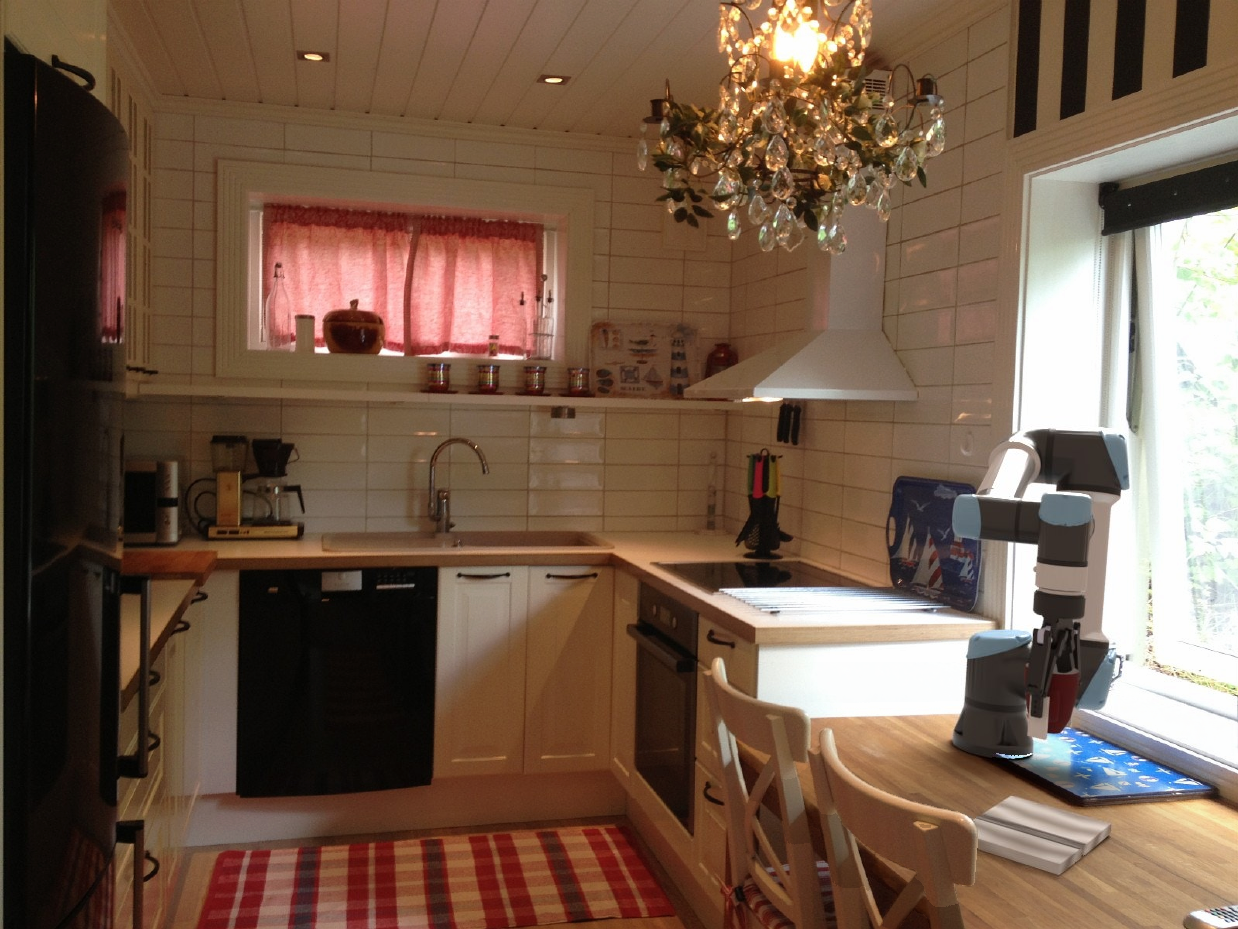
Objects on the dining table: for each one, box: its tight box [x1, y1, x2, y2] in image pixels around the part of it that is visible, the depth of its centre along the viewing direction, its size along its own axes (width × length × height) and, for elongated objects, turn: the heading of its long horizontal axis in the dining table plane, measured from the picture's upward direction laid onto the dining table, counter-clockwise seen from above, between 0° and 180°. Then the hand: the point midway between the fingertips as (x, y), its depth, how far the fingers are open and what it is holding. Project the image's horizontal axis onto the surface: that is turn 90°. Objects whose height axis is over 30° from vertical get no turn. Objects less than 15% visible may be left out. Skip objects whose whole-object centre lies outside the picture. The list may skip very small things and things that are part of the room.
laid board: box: [972, 815, 1082, 876], centre depth 162 cm, size 9×16×2 cm, turn 48°
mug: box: [1024, 663, 1079, 735], centre depth 170 cm, size 11×8×10 cm
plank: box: [980, 795, 1112, 857], centre depth 171 cm, size 12×16×2 cm
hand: (1050, 731), depth 170 cm, fingers closed on mug, 10 cm apart
